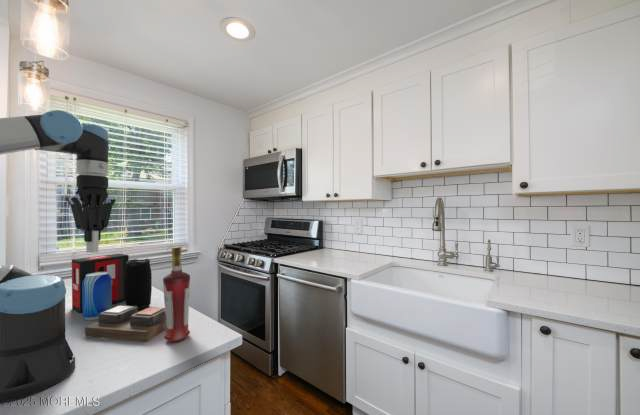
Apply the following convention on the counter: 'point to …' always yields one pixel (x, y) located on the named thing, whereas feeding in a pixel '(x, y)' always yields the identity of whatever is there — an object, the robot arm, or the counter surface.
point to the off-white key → (118, 309)
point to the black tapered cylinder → (138, 283)
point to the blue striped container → (96, 294)
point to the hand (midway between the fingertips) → (92, 252)
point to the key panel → (127, 325)
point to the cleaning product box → (105, 263)
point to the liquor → (176, 300)
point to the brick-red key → (149, 311)
